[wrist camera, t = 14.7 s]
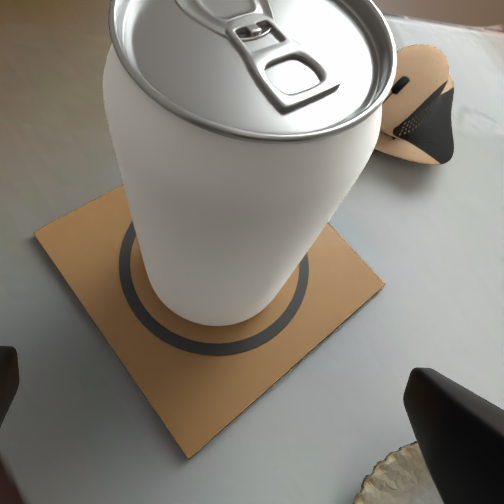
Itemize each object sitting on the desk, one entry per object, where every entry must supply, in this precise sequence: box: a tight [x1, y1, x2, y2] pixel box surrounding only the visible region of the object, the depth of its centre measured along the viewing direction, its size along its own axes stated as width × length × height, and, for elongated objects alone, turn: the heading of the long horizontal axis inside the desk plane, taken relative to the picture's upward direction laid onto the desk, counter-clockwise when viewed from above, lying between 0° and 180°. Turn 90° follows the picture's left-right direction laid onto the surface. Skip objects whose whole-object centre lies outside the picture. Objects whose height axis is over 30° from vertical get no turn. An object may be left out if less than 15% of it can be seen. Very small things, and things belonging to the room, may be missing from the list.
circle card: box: [33, 185, 385, 459], centre depth 19 cm, size 12×12×1 cm
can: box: [103, 0, 397, 326], centre depth 13 cm, size 6×6×12 cm
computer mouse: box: [374, 44, 454, 165], centre depth 23 cm, size 6×10×4 cm, turn 137°
